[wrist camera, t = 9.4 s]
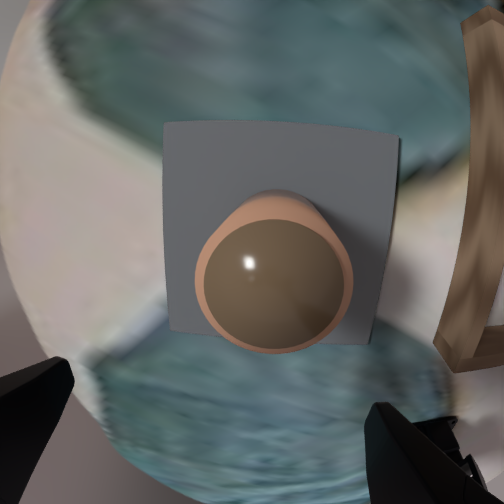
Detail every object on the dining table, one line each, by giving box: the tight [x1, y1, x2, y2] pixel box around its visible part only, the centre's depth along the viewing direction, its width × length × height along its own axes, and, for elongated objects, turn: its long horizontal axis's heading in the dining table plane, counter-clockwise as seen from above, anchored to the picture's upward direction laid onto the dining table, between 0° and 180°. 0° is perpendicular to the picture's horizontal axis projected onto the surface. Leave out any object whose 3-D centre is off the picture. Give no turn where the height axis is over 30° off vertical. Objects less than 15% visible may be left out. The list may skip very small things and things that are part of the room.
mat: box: [162, 120, 399, 345], centre depth 18 cm, size 14×14×1 cm
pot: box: [195, 189, 353, 354], centre depth 14 cm, size 6×6×7 cm
